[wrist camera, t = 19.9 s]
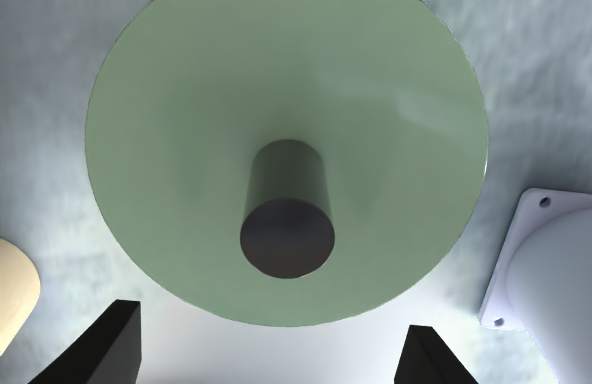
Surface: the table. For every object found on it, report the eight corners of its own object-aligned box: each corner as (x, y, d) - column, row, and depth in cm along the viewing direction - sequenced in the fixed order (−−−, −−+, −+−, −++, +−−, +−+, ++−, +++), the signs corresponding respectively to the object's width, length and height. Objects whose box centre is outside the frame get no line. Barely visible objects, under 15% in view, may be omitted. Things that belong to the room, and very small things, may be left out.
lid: (530, -17, 15) (638, 3, 10) (426, 321, 20) (466, 431, 16) (83, -77, 14) (-18, -85, 9) (105, 293, 20) (49, 401, 15)
